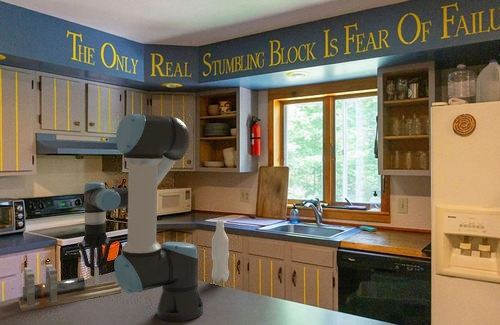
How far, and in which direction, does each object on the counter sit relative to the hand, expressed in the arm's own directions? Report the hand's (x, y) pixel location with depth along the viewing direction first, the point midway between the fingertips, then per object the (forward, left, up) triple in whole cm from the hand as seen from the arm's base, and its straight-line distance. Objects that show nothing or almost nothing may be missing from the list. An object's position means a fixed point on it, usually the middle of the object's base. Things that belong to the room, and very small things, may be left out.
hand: (95, 284), depth 154 cm
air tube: (0, +15, -2) cm, 15 cm away
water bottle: (-16, -46, -3) cm, 49 cm away
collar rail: (0, +9, -3) cm, 9 cm away
